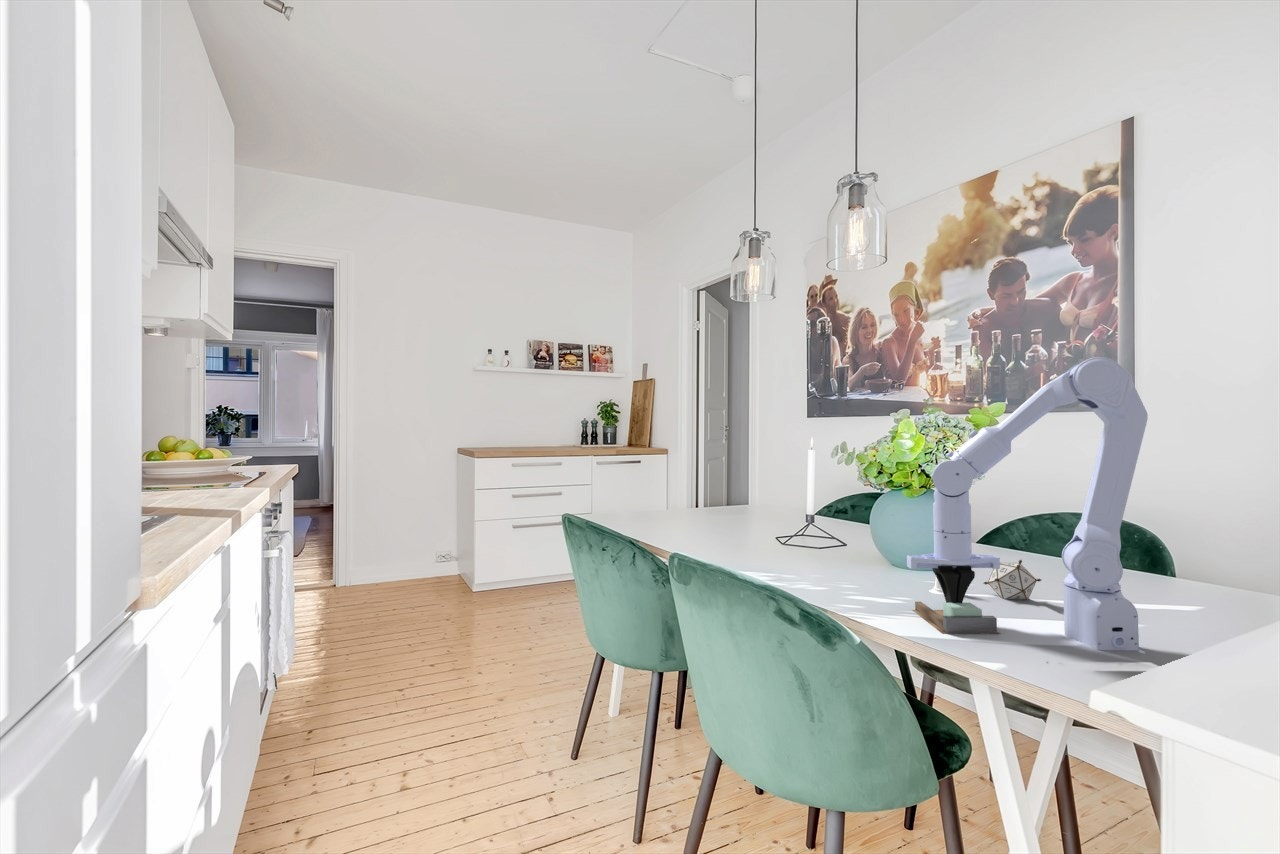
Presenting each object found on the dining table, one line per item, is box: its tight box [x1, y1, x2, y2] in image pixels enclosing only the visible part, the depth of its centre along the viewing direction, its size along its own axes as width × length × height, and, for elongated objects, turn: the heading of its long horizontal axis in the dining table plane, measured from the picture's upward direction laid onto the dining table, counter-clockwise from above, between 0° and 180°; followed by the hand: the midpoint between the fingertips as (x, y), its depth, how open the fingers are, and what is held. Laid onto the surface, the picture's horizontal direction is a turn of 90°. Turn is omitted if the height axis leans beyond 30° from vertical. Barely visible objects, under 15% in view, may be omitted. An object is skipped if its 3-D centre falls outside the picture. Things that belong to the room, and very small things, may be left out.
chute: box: [911, 601, 1001, 635], centre depth 103 cm, size 13×9×4 cm
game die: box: [982, 559, 1042, 600], centre depth 117 cm, size 9×8×10 cm
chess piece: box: [928, 576, 944, 595], centre depth 122 cm, size 5×5×10 cm
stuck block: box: [942, 602, 983, 616], centre depth 100 cm, size 4×4×4 cm
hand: (953, 610), depth 103 cm, fingers closed, pressing on stuck block
